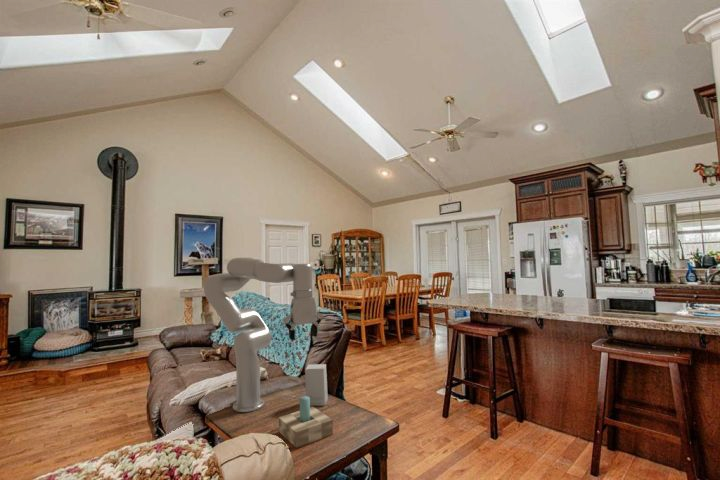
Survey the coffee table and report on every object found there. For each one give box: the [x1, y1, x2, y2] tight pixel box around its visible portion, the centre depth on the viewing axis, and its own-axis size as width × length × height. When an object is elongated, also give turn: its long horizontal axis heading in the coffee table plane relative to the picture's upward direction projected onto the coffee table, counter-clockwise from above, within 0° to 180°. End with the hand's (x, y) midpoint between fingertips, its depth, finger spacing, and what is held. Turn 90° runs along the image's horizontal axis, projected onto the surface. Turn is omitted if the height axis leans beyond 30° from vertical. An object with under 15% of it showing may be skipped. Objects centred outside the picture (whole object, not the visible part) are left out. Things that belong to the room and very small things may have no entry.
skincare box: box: [304, 363, 329, 407], centre depth 149 cm, size 8×7×16 cm
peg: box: [299, 395, 311, 423], centre depth 123 cm, size 4×4×12 cm
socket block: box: [278, 406, 334, 449], centre depth 123 cm, size 14×14×5 cm
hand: (303, 337), depth 138 cm, fingers open, 9 cm apart
